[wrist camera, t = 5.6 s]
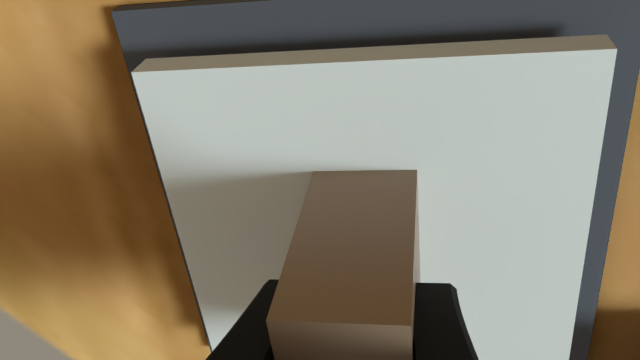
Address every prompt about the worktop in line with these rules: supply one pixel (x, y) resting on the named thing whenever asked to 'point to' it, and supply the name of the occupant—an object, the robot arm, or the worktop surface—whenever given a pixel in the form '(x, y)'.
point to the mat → (407, 29)
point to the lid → (385, 187)
